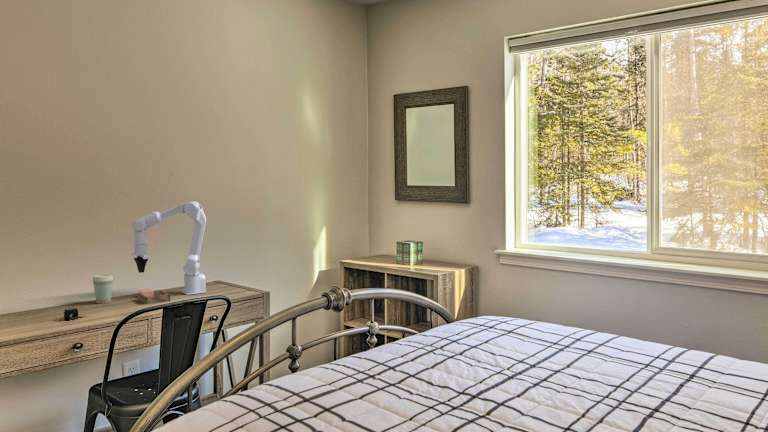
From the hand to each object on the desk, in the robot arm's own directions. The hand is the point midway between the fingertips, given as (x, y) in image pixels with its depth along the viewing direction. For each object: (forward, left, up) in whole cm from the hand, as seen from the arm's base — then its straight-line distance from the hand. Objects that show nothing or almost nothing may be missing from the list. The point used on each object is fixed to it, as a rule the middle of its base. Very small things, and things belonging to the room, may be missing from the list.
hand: (141, 272), depth 283 cm
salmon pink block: (0, +7, -11) cm, 13 cm away
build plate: (+37, +31, -11) cm, 49 cm away
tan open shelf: (0, +17, -10) cm, 20 cm away
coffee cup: (+19, +8, -11) cm, 23 cm away
